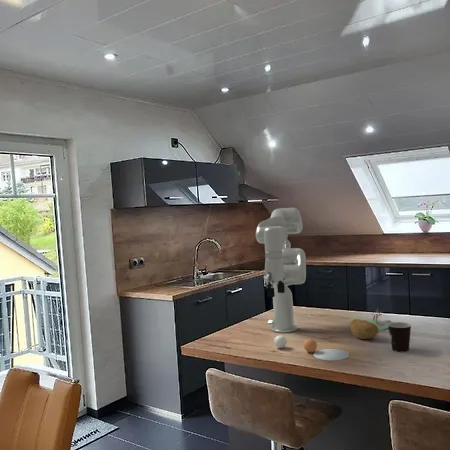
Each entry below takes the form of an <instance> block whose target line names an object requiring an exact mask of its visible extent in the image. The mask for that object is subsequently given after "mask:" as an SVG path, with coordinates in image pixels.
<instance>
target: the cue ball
mask: <svg viewBox="0 0 450 450" xmlns="http://www.w3.org/2000/svg"><path fill="white" fill-rule="evenodd" d="M287 341H288V340H287V338H286V337H285V336H284V335H280V334H279V335H277V336H275V337H274V339H273V344H274V345H275V347H276V348H278V349H283V348H285V347H286V345H287V343H288V342H287Z"/></svg>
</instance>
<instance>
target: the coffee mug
mask: <svg viewBox="0 0 450 450" xmlns="http://www.w3.org/2000/svg"><path fill="white" fill-rule="evenodd" d="M411 327H412V324H411V323H408V322H401V321H397V322H396V321H395V322H394V323H389V324H388V328H387V329H388V331H389V332H388V333H389V340H390V344H391V349H392V351H393V352H398V353H405V352H409V351H410V344H411V343H410V341H411Z"/></svg>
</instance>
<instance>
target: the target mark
mask: <svg viewBox="0 0 450 450" xmlns="http://www.w3.org/2000/svg"><path fill="white" fill-rule="evenodd" d="M313 357H314V358H316V359H318V360H321V361H328V362H329V361H330V362H333V361H334V362H335V361H342V360H346V359H348V358H349V357H350V353H349V352H348V351H347V350H343V349H335V348H327V349H321V350H320V349H319V350H317V351H314V352H313Z"/></svg>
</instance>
